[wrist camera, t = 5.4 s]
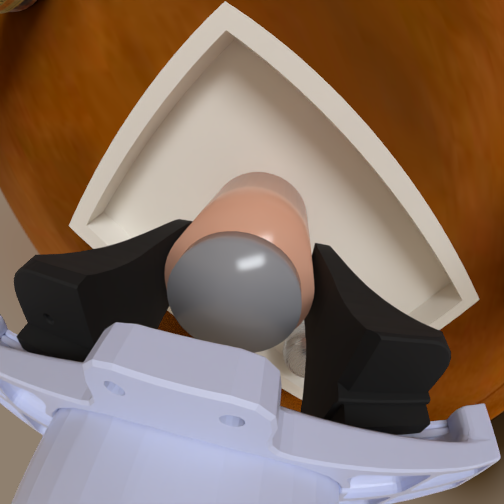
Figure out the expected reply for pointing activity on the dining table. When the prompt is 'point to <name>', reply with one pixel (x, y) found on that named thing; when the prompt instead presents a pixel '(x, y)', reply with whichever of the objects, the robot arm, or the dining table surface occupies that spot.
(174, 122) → the dish
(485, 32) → the dining table surface
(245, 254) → the shaker
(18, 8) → the sauce bottle
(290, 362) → the mixing ball
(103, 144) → the dining table surface
